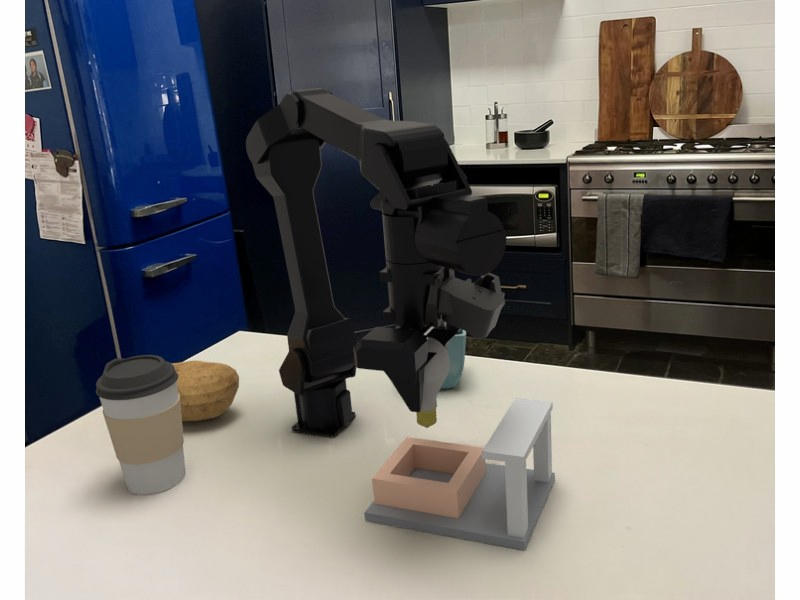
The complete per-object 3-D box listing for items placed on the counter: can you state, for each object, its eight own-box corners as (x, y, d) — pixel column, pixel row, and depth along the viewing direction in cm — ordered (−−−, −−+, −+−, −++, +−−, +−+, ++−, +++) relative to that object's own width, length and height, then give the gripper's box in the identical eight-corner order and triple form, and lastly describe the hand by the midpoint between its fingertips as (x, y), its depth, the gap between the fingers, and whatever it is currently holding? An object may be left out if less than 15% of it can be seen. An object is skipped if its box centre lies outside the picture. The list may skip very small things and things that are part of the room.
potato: (167, 401, 113) (158, 350, 111) (255, 404, 110) (247, 352, 108) (130, 432, 104) (119, 378, 102) (225, 436, 101) (216, 381, 99)
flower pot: (469, 394, 108) (466, 333, 105) (407, 398, 108) (402, 338, 105) (465, 369, 116) (462, 313, 113) (407, 373, 116) (402, 317, 114)
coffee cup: (209, 463, 94) (190, 350, 90) (165, 504, 86) (142, 381, 82) (148, 456, 97) (126, 346, 93) (100, 495, 89) (73, 376, 85)
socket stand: (365, 520, 80) (356, 436, 77) (412, 459, 92) (406, 384, 89) (525, 550, 74) (522, 459, 71) (555, 480, 85) (553, 399, 82)
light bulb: (449, 439, 78) (444, 348, 75) (397, 438, 80) (389, 348, 76) (456, 415, 83) (451, 328, 80) (407, 414, 85) (400, 328, 82)
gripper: (461, 289, 65) (470, 454, 69) (519, 236, 81) (523, 373, 86) (343, 282, 69) (359, 438, 74) (420, 233, 85) (429, 363, 90)
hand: (424, 400), depth 81 cm, fingers closed on light bulb, 5 cm apart
